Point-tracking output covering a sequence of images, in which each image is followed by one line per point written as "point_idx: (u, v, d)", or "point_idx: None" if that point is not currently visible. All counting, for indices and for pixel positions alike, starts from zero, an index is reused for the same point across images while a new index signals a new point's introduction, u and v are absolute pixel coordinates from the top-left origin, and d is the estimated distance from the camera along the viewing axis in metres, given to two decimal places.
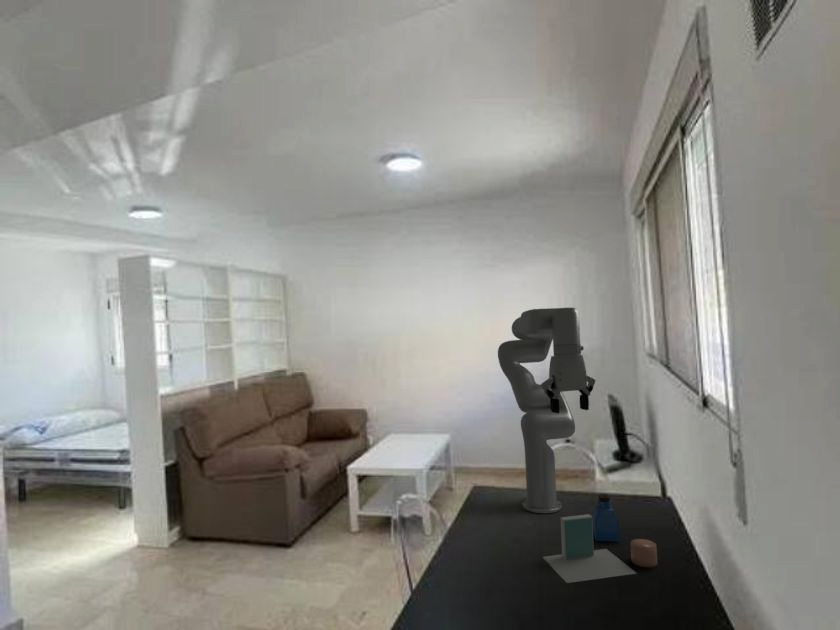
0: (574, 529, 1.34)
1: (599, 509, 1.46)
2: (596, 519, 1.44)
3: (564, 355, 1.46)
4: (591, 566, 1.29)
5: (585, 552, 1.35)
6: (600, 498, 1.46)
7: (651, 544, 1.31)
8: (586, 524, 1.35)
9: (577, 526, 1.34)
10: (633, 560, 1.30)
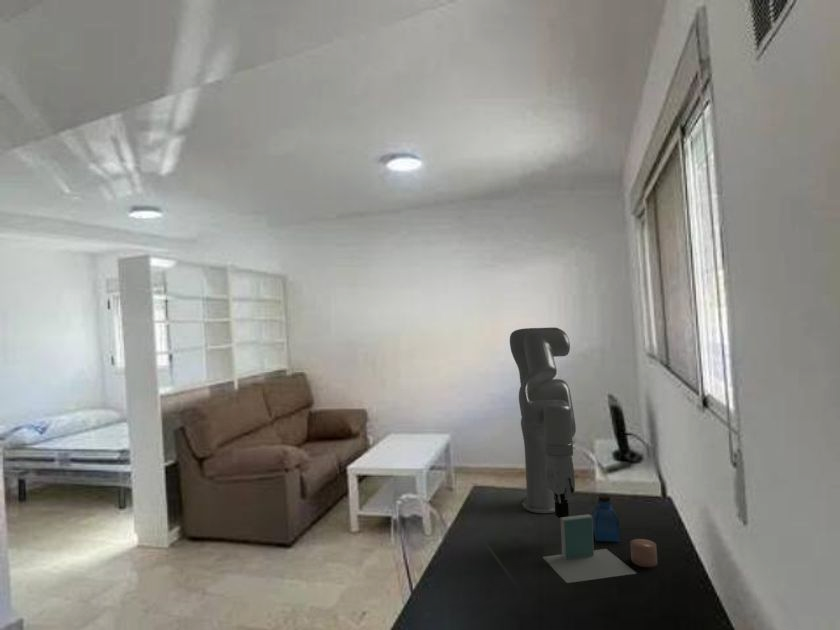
0: (574, 529, 1.34)
1: (599, 509, 1.46)
2: (596, 519, 1.44)
3: (572, 454, 1.42)
4: (591, 566, 1.29)
5: (585, 552, 1.35)
6: (600, 498, 1.46)
7: (651, 544, 1.31)
8: (586, 524, 1.35)
9: (577, 526, 1.34)
10: (633, 560, 1.31)
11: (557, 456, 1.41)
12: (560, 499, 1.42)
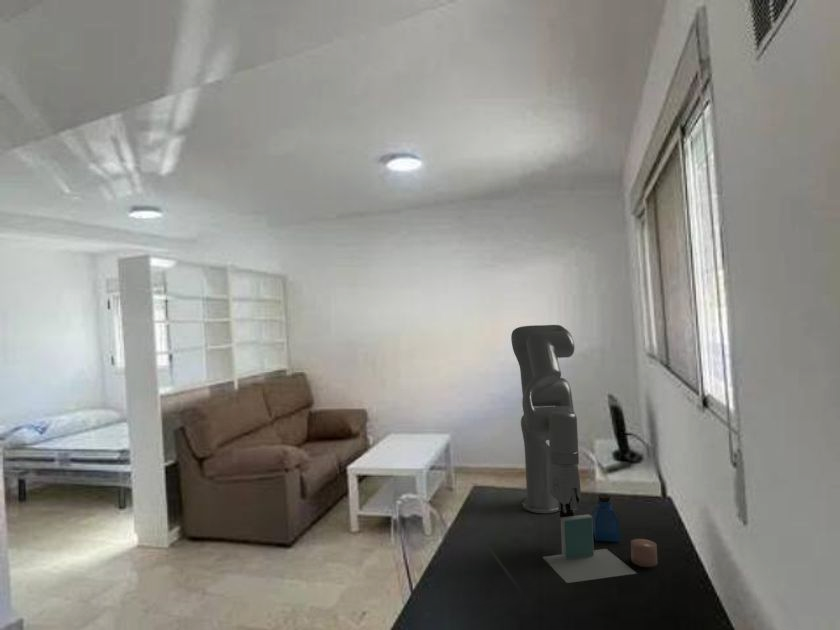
0: (574, 529, 1.34)
1: (599, 509, 1.46)
2: (596, 519, 1.44)
3: (578, 463, 1.39)
4: (591, 566, 1.29)
5: (585, 552, 1.35)
6: (600, 498, 1.46)
7: (651, 544, 1.31)
8: (586, 524, 1.35)
9: (577, 526, 1.34)
10: (632, 559, 1.31)
11: (562, 465, 1.38)
12: (565, 509, 1.39)
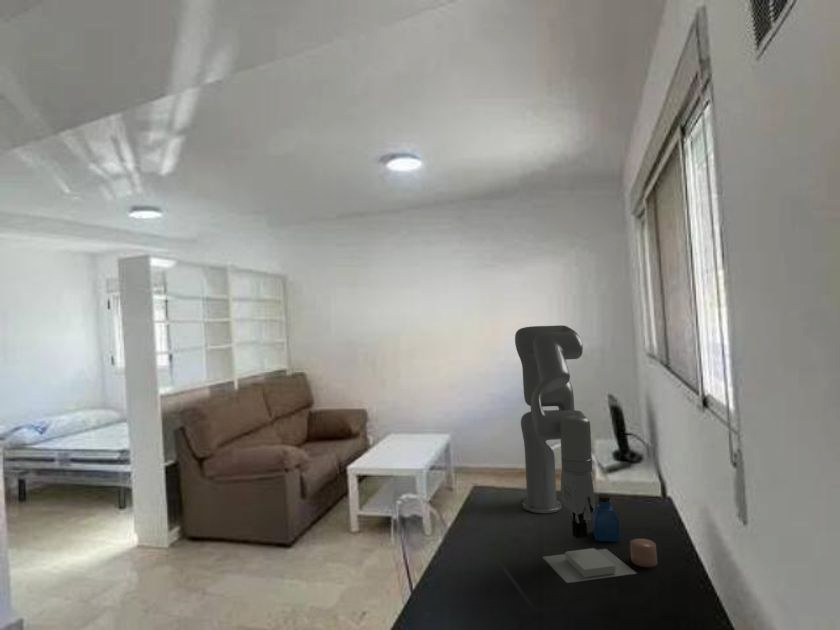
0: None
1: (599, 509, 1.46)
2: (596, 519, 1.44)
3: (591, 470, 1.32)
4: None
5: None
6: (600, 498, 1.46)
7: (651, 544, 1.30)
8: None
9: None
10: (632, 559, 1.31)
11: (575, 473, 1.31)
12: (578, 518, 1.32)
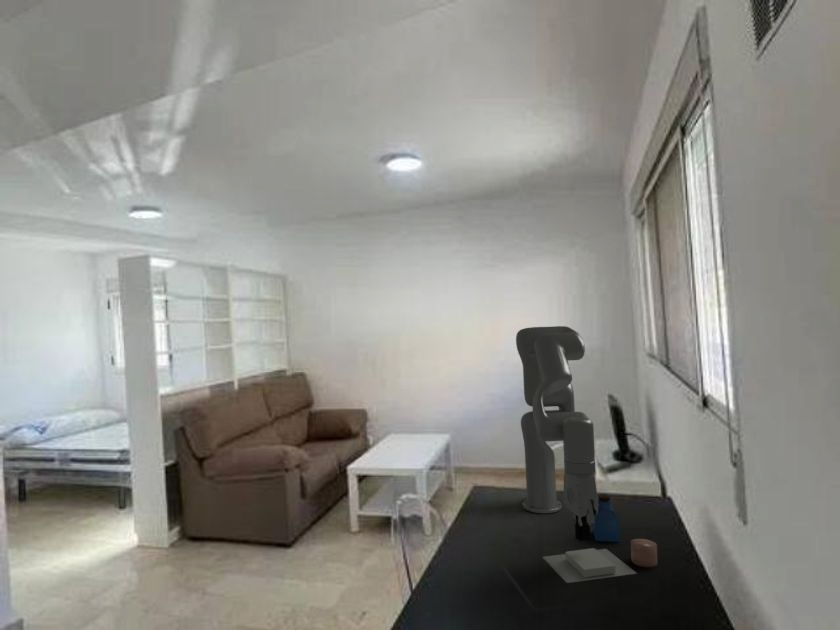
0: None
1: (599, 509, 1.46)
2: (596, 519, 1.44)
3: (594, 473, 1.31)
4: None
5: None
6: (600, 498, 1.46)
7: (651, 544, 1.30)
8: None
9: None
10: (632, 558, 1.31)
11: (578, 475, 1.29)
12: (581, 521, 1.31)
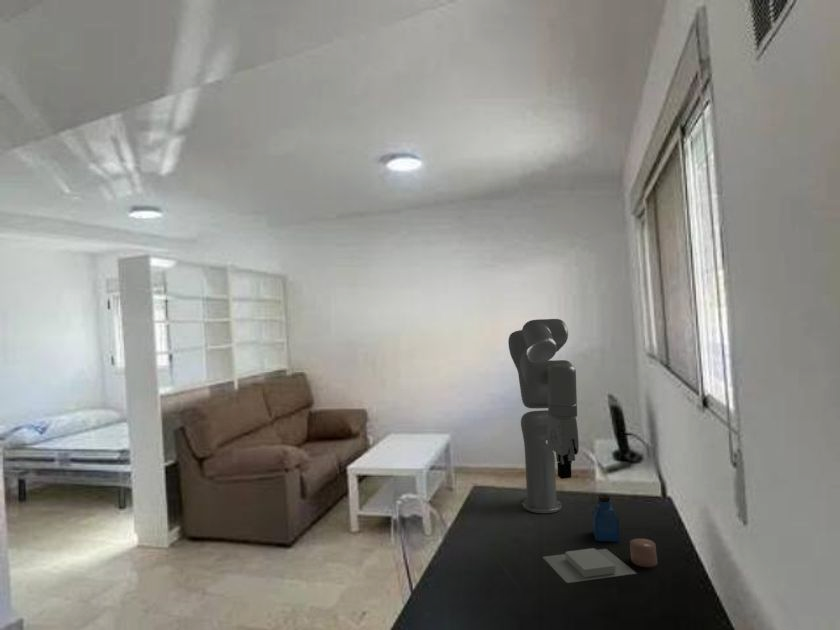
0: None
1: (599, 509, 1.46)
2: (596, 519, 1.44)
3: (576, 415, 1.39)
4: None
5: None
6: (600, 498, 1.46)
7: (650, 544, 1.30)
8: None
9: None
10: (631, 558, 1.31)
11: (561, 417, 1.38)
12: (563, 460, 1.40)
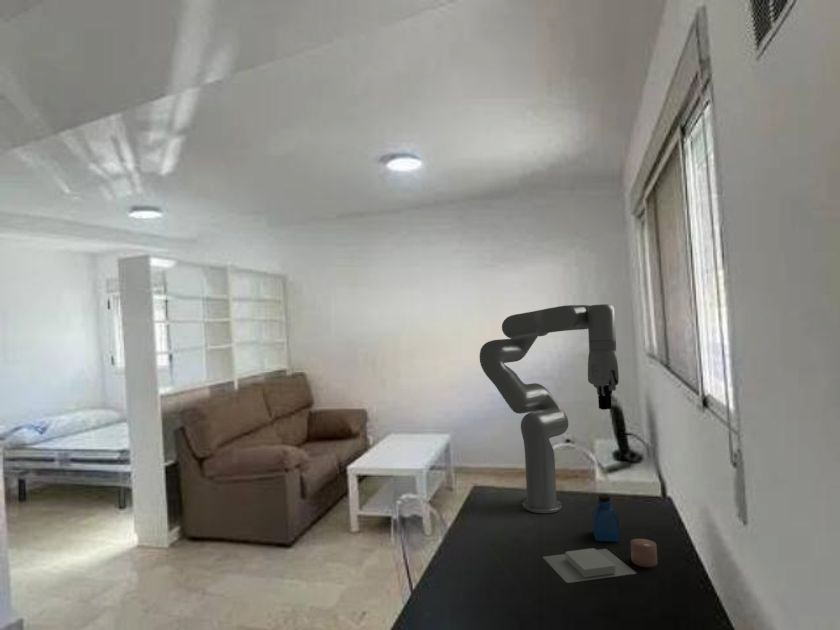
0: None
1: (599, 509, 1.46)
2: (596, 519, 1.44)
3: (615, 350, 1.52)
4: None
5: None
6: (600, 498, 1.46)
7: (651, 544, 1.30)
8: None
9: None
10: (631, 557, 1.32)
11: (602, 351, 1.50)
12: (604, 391, 1.52)
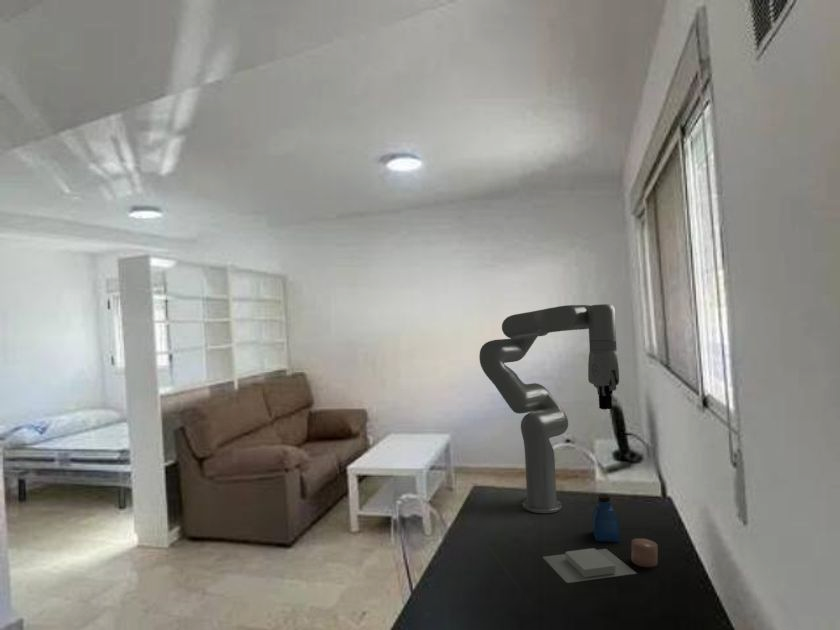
0: None
1: (599, 509, 1.46)
2: (596, 519, 1.44)
3: (616, 349, 1.52)
4: None
5: None
6: (600, 498, 1.46)
7: (652, 546, 1.30)
8: None
9: None
10: (631, 556, 1.32)
11: (602, 351, 1.51)
12: (604, 391, 1.52)
